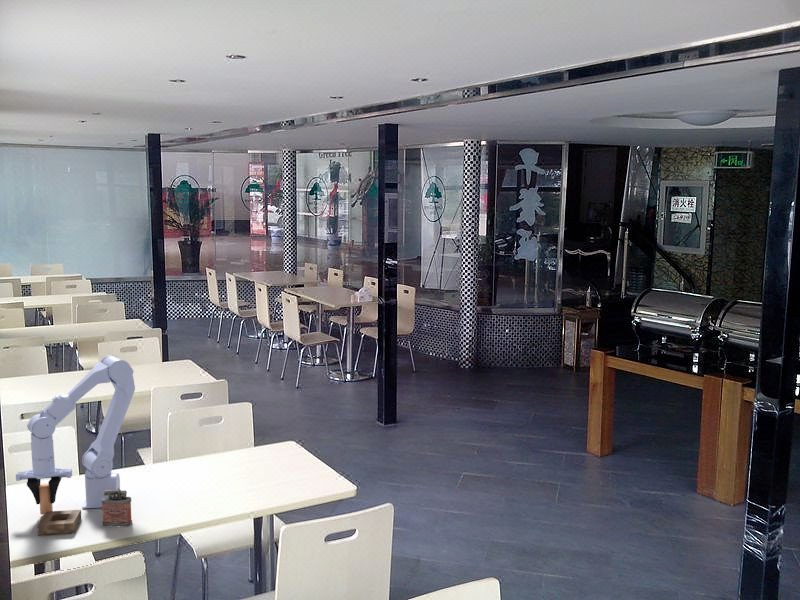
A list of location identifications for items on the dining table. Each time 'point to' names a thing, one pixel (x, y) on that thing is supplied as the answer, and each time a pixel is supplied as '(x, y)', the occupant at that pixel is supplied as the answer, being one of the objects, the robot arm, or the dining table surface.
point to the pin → (45, 499)
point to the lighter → (116, 508)
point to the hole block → (59, 522)
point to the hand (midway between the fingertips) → (45, 502)
